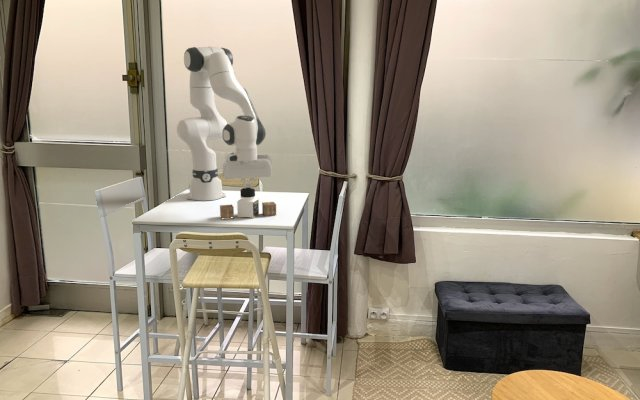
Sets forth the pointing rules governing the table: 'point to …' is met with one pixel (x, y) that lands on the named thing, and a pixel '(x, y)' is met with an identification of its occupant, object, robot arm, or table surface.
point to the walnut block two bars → (268, 208)
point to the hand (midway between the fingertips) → (247, 188)
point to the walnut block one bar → (226, 211)
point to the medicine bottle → (248, 203)
